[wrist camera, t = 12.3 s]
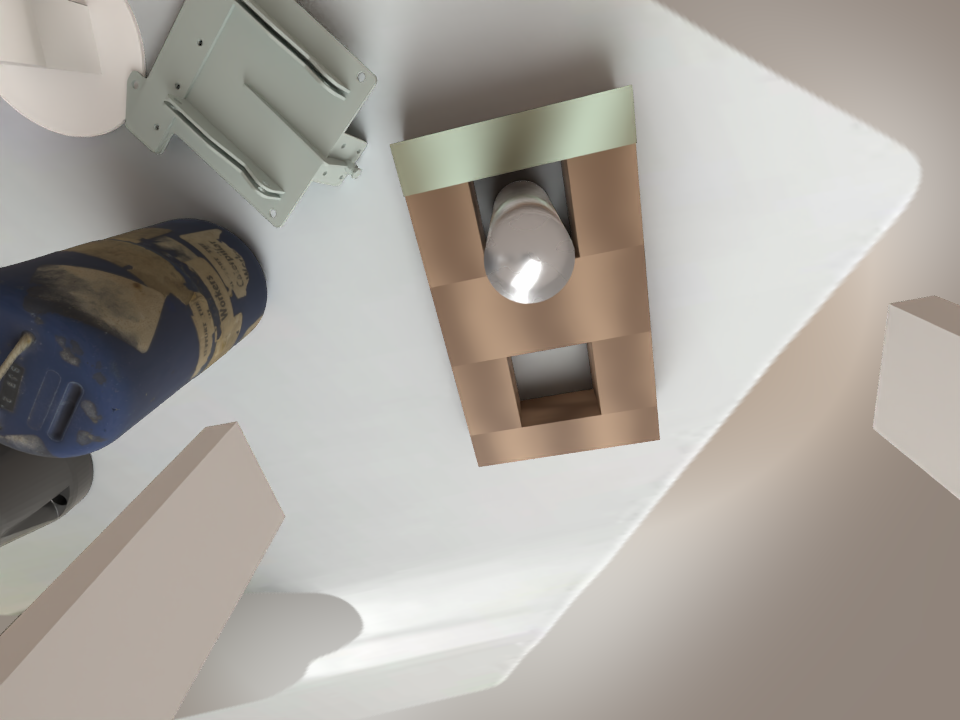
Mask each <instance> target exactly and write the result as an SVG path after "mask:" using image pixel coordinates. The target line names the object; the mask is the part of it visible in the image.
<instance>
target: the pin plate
mask: <svg viewBox="0 0 960 720" xmlns="http://www.w3.org/2000/svg"><path fill="white" fill-rule="evenodd" d="M636 143H637V139H636V127H635V114H634V102H633V90H632V85H628V86H624V87H620V88H616V89H612V90H608V91H604V92H600V93H596V94H592V95H588V96H584V97H580V98H576V99H572V100H568V101H564V102H560V103H556V104H552V105H547V106H543V107H539V108H535V109H531V110H527V111H523V112H519V113H515V114H511V115H507V116H503V117H499V118H495V119H491V120H487V121H483V122H479V123H475V124H471V125H466V126H462V127H458V128H454V129H450V130H446V131H442V132H438V133H434V134H430V135H426V136H422V137H418V138H414V139H410V140H406V141H402V142H398V143H394V144H390V148H391V151H392V155H393V159H394V162H395V166H396V170H397V173H398V177H399V181H400V184H401V188H402V192H403V195H404V197H405V199H406V202H407V206H408V210H409V213H410V217H411V220H412V224H413V228H414V231H415V235H416V239H417V242H418V246H419V250H420V253H421V257H422V261H423V264H424V268H425V272H426V275H427V279H428V283H429V286H430V290H431V294H432V297H433V301H434V305H435V308H436V312H437V316H438V319H439V323H440V327H441V330H442V334H443V338H444V341H445V345H446V349H447V352H448V356H449V360H450V363H451V367H452V371H453V374H454V378H455V382H456V385H457V389H458V393H459V396H460V400H461V404H462V407H463V411H464V415H465V418H466V422H467V426H468V429H469V433H470V437H471V440H472V444H473V448H474V451H475V455H476V458H477V462H478V466H479V467H482V466H488V465H495V464H502V463H508V462H515V461H522V460H528V459H535V458H542V457H548V456H555V455H562V454H568V453H575V452H581V451H588V450H595V449H601V448H608V447H615V446H621V445H628V444H635V443H641V442H648V441H655V440H660V436H659V424H658V412H657V399H656V387H655V375H654V363H653V350H652V338H651V326H650V313H649V301H648V289H647V277H646V264H645V252H644V240H643V228H642V215H641V203H640V191H639V179H638V166H637V154H636ZM556 161H561V166H562V173H563V180H564V187H565V194H566V201H567V208H568V215H569V222H570V229H571V236H572V243H573V246H574V251H575V263H574V269H573V272H572V274H571V277H570V279H569V280H568V282H567V283H566V285H565V286H564V287H563V288H562V289H561V290H560V291H559V292H558V293H557V294H556V295H554V296H553V297H551V298H549V299H547V300H544V301H541V302H538V303H519V302H515V301H512V300H509V299H507V298H506V297H504V296H502V295H501V294H500V293H499V292H498V291H496V290H495V288H494V287H493V286H492V285H491V283H490V281H489V280H488V277H487V275H486V272H485V267H484V252H485V247H486V239H485V234H484V229H483V225H482V220H481V215H480V211H479V206H478V201H477V197H476V192H475V188H474V183H473V181H474V180H478V179H483V178H487V177H491V176H496V175H500V174H504V173H509V172H513V171H517V170H522V169H526V168H530V167H535V166H539V165H543V164H548V163H552V162H556ZM582 343H587V349H588V356H589V363H590V370H591V377H592V384H593V389H589V390H583V391H577V392H571V393H565V394H559V395H553V396H547V397H541V398H535V399H529V400H523V401H520V397H519V392H518V388H517V383H516V378H515V374H514V369H513V364H512V360H511V356H516V355H521V354H527V353H532V352H538V351H543V350H549V349H555V348H560V347H566V346H571V345H577V344H582Z"/></svg>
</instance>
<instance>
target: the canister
mask: <svg viewBox="0 0 960 720" xmlns="http://www.w3.org/2000/svg"><path fill="white" fill-rule="evenodd" d="M266 302H267V287H266V281H265V277H264V274H263V272H262V269H261V267H260V264H259V263H258V261H257V259H256V258H255V256H254V255H253V253H252V252H251V251H250V249H249V248H248V247H247V246H246V245H245V244H244V243H243V242H242V241H241V240H240V239H239V238H238V237H236V236H235V235H234V234H232V233H231V232H229V231H228V230H226V229H224V228H222V227H220V226H218V225H216V224H213V223H210V222H207V221H203V220H198V219H175V220H170V221H166V222H163V223H159V224H156V225H153V226H149V227H146V228H142V229H138V230H134V231H130V232H127V233H124V234H120V235H117V236H113V237H110V238H107V239H104V240H98V241H92V242H88V243H85V244H82V245H78V246H75V247H72V248H69V249H65V250H62V251H57V252H54V253H51V254H48V255H45V256H42V257H38V258H35V259H31V260H28V261H24V262H21V263H18V264H14V265H10V266H6V267H2V268H0V443H1V444H3V445H5V446H8V447H10V448H13V449H15V450H18V451H21V452H25V453H28V454H32V455H37V456H43V457H52V458H68V457H76V456H81V455H86V454H89V453H92V452H94V451H97V450H99V449H101V448H103V447H105V446H107V445H109V444H110V443H112V442H113V441H115V440H116V439H118V438H119V437H120V436H121V435H123V434H124V433H125V432H126V431H127V430H129V429H130V428H131V427H133V426H134V425H135V424H136V423H138V422H139V421H140V420H141V419H143V418H144V417H145V416H146V415H148V414H149V413H150V412H152V411H153V410H154V409H155V408H157V407H158V406H159V405H160V404H161V403H163V402H164V401H165V400H166V399H168V398H169V397H170V396H171V395H173V394H174V393H175V392H176V391H178V390H179V389H180V388H181V387H183V386H184V385H185V384H187V383H188V382H189V381H190V380H192V379H193V378H195V377H196V376H198V375H199V374H200V373H202V372H203V371H204V370H206V369H207V368H208V367H209V366H211V365H212V364H213V363H214V362H216V361H217V360H218V359H219V358H220V357H222V356H223V355H224V354H226V353H227V352H228V351H229V350H230V349H231V348H232V347H233V346H234V345H236V344H237V343H238V342H240V341H241V340H242V339H243V338H244V337H245V336H247V335H248V334H249V333H250V332H251V331H252V330H253V329H254V328H255V327H256V326H257V324H258V323H259V321H260V320H261V318H262V316H263V314H264V310H265V307H266Z"/></svg>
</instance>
